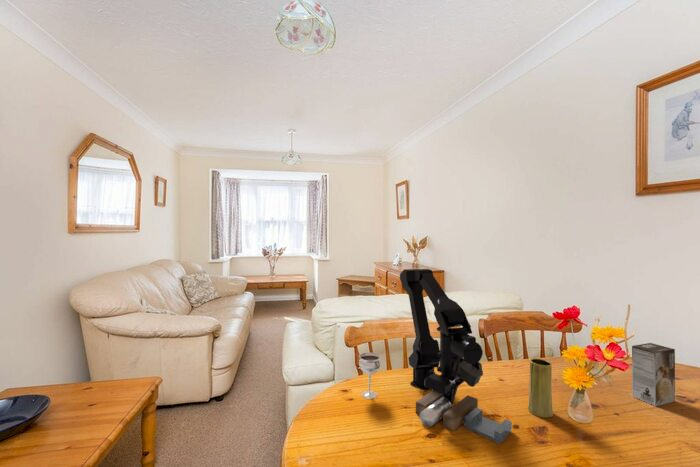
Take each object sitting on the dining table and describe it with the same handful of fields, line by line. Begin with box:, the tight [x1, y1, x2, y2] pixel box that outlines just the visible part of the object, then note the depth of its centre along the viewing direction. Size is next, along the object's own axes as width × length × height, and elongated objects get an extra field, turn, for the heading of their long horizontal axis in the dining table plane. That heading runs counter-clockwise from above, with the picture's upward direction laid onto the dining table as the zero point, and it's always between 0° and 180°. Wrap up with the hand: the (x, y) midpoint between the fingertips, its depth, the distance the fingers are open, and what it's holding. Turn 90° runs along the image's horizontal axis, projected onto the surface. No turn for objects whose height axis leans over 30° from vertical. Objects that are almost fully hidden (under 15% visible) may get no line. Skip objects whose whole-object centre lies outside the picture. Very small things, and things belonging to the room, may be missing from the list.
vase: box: [527, 358, 554, 419], centre depth 90 cm, size 6×6×14 cm
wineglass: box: [358, 352, 381, 400], centre depth 100 cm, size 7×7×12 cm
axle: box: [419, 397, 453, 428], centre depth 87 cm, size 10×4×4 cm, turn 134°
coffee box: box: [631, 342, 676, 407], centre depth 98 cm, size 9×6×16 cm
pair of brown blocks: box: [415, 390, 479, 432], centre depth 90 cm, size 12×14×3 cm
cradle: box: [463, 407, 513, 445], centre depth 82 cm, size 9×7×3 cm
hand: (450, 404), depth 92 cm, fingers closed
